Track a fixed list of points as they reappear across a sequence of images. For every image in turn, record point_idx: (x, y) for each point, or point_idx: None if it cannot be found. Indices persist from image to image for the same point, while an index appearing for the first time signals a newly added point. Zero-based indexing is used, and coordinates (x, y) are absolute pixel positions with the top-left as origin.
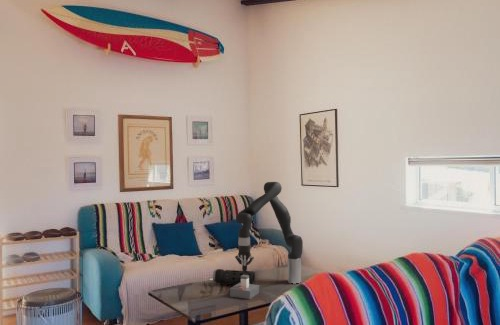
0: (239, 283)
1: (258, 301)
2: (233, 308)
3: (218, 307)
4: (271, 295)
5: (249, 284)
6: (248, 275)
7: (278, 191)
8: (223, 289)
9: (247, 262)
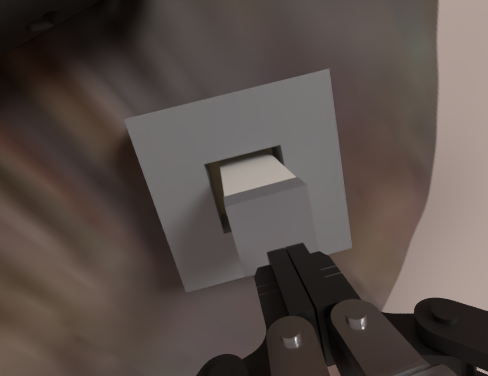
0: (145, 144)
1: (390, 218)
2: (335, 365)
3: None
4: (411, 67)
5: (242, 109)
6: (304, 195)
7: None
8: (31, 183)
9: (408, 344)
